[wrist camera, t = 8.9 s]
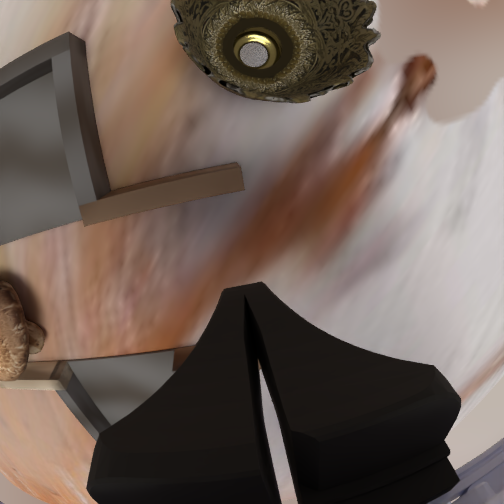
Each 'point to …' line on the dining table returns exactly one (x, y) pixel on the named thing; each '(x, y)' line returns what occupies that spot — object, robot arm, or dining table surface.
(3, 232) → the grey brown flat frame
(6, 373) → the mushroom
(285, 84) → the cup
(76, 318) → the dining table surface
